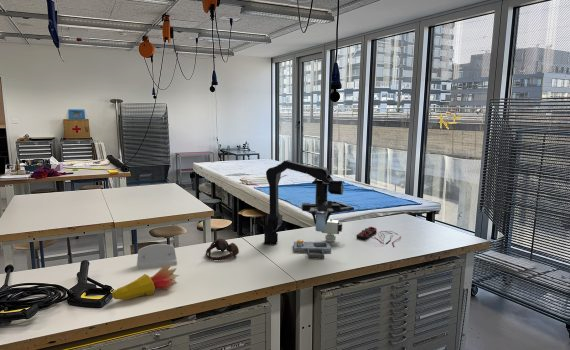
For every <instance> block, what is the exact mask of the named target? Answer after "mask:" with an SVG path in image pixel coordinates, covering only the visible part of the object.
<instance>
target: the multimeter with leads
mask: <svg viewBox="0 0 570 350" xmlns="http://www.w3.org/2000/svg"><path fill="white" fill-rule="evenodd" d="M377 231H378V230H377V227H374V226H368V227H366V228H365V227H364V229H362V230H361V231H360V232H358V233H357V234H356V239H357V240H360V241H368V240H369V239H370V238H371V239H373V240H374V239H375V240H377V241H378V242H379V243H380V244H382V245H383V244H384V245H385V246H386V245H388V244H389V243H390V242H391V245H392V246H393V248H395V247H396V246H395V244H394V243H395V242H396V241H398V240H399V239H401V236H399V238H397V239H395V240H394V241H392V235H393V233H394V234H396V235H398V233H396V232H394V231H391V230H389V231H387V230H381V231H379V232H378V233H377ZM382 232H384V233H387V234H391V235H390V239H389V240H388V241H387V242H385V243H384V241H385V239H386V238H385V237H386V235H385V234H384V233H382ZM376 234H377V235H378V237H379V238H380V239H378V238H377V237H376V236H375V235H376ZM380 234H382V235H383V239H382V237H381V236H380Z"/></svg>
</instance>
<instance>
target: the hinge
mask: <svg viewBox="0 0 570 350" xmlns="http://www.w3.org/2000/svg"><path fill="white" fill-rule="evenodd" d="M172 262H174V263H173V264H172V265H171V267H173V266H177V265H178V263H177V262H178V260H177V254H176V249H175V246H174V245H171V244H167V243H166V244H165V243H158V244H157V243H156V244H155V243H154V244H150V245H146V246H144V247H141V248H139V249H138V251H137V260H136V267H137V270H138V271H139V270H147V269H148V270H150V269H158V268H163V267H164V266H165V265H167V264H170V263H172Z"/></svg>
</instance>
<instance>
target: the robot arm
mask: <svg viewBox="0 0 570 350" xmlns="http://www.w3.org/2000/svg"><path fill="white" fill-rule="evenodd" d="M286 170H291V171H294V172H298V173H302V174H306V175H309V176H311V177H312V178H314V179H313V181H312V182H311V185H315V203H314V204H311V203H310V202H302V204H301V211H302V212H308V213H310V214H311V216H312V218H313V222H314V225H316V211H315V210H317V212H318V211H319V212H321V211H322V212H325V213H326V222H325V224H327V221H328V220H329V218H330V216H331V214H334V212H341V211H342V206H341V204H339V203H337V202H336V203H333V201H332V200H328V193H329V194H330V195H338V196H339V195H340V196H342V195H343V194H344V190H345V189H344V183H343V180H334V179H333V178H332V176H331V174H330V171H329V168H327V167H326V166H325V167H324V166H313V165H312V166H311V165H308V164H303V163H300V162H295V161H293V160H292V161H291V160H290V159H286V160H284V161H282V162H281V163H279V164H277V165H276V166H273V167H269V168H267V169H266V171H265V177H266V181H267V183H268V186H269V188H268V190H269V214H268V215H267V221H266V225H265V226H264V227H263V228H262V232H263V234H264V235H263V236H264V240H263V241H264V242H263V244H264V245H277V244H278V242H279V241H278V240H279V239H278V238H279V236H278V231H277V230H279V228H280V227H281V225H282V223H284V220H283V216H284V215H283V214H281V213H280V211H279V183H280V181H281V176H282V173H284V172H285V171H286Z"/></svg>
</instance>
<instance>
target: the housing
mask: <svg viewBox="0 0 570 350" xmlns="http://www.w3.org/2000/svg"><path fill="white" fill-rule="evenodd" d="M307 249H322V250H323V252H324V254H325V253H326V254H327V253H329V254H330V253H332V247H331V245H330V241H303V246H297V241H293V251H294V253H307Z"/></svg>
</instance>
